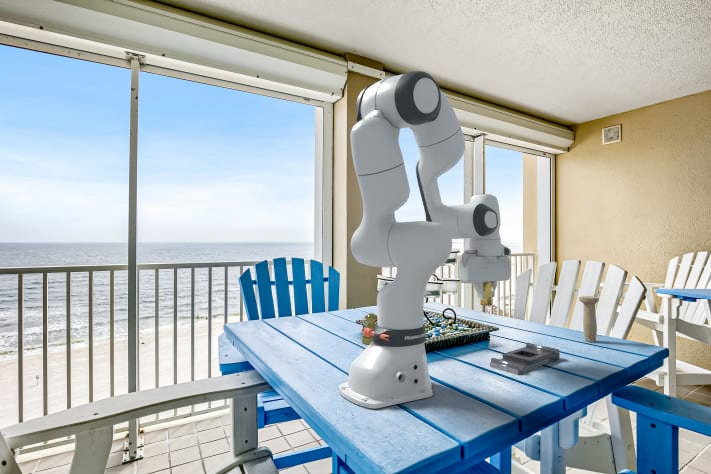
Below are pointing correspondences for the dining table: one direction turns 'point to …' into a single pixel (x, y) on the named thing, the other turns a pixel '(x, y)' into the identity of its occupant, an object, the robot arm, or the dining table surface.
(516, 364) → the gray stepped fixture plate
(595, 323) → the handle
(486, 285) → the brass pin
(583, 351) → the dining table surface
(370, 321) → the olive green upright figure
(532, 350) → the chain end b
